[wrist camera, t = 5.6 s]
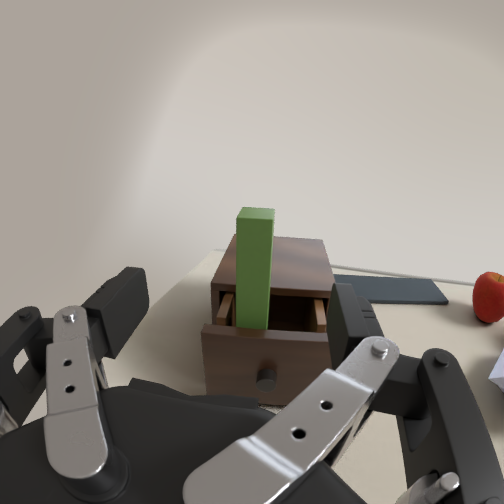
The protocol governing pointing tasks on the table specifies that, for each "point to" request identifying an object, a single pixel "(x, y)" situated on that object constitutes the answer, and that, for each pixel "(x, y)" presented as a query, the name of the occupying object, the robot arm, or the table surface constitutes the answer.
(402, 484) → the table surface
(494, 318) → the apple
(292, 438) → the robot arm
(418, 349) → the table surface
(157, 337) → the table surface
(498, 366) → the wedge on round base
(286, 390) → the drawer
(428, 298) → the mat
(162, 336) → the table surface
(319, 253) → the cabinet
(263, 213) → the long green square beam
